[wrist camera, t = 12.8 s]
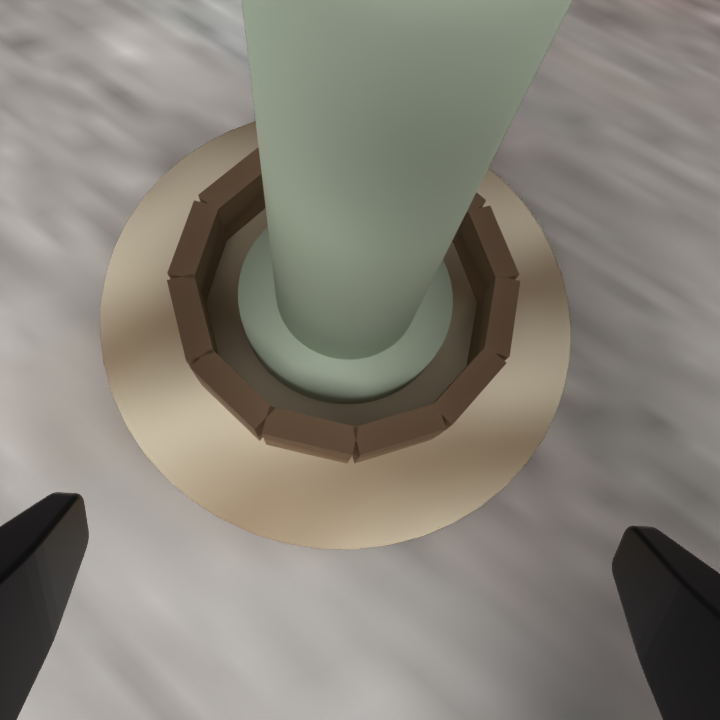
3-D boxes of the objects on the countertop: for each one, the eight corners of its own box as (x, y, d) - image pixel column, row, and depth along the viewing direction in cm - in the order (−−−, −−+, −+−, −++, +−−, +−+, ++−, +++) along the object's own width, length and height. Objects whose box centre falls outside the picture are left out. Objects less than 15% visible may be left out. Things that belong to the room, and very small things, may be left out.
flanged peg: (484, 341, 19) (806, -9, 7) (306, 444, 18) (314, 226, 5) (377, 185, 21) (486, -332, 8) (204, 267, 19) (23, -226, 7)
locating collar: (629, 464, 20) (685, 451, 17) (163, 621, 17) (135, 639, 14) (468, 97, 24) (491, 37, 21) (73, 172, 21) (37, 115, 18)
